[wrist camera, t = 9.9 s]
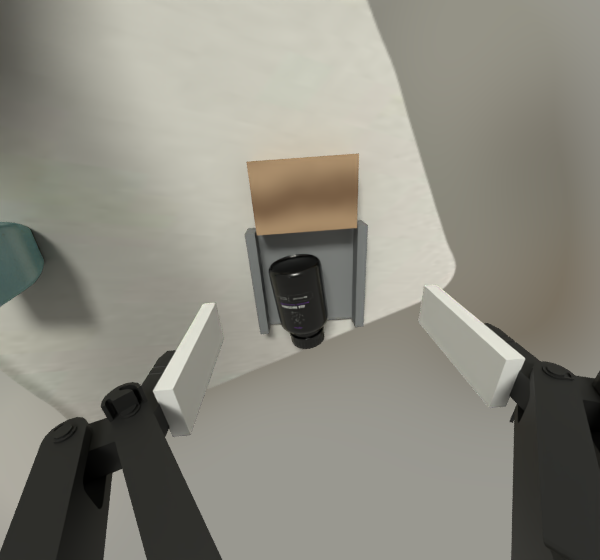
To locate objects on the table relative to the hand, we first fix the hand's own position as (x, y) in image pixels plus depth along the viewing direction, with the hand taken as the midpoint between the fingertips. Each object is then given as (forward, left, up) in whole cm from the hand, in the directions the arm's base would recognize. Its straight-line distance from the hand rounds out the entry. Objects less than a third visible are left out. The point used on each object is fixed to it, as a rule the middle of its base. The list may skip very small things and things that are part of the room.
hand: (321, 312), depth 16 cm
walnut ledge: (-5, 0, -20) cm, 21 cm away
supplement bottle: (+2, -2, -16) cm, 16 cm away
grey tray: (+6, 0, -20) cm, 21 cm away
